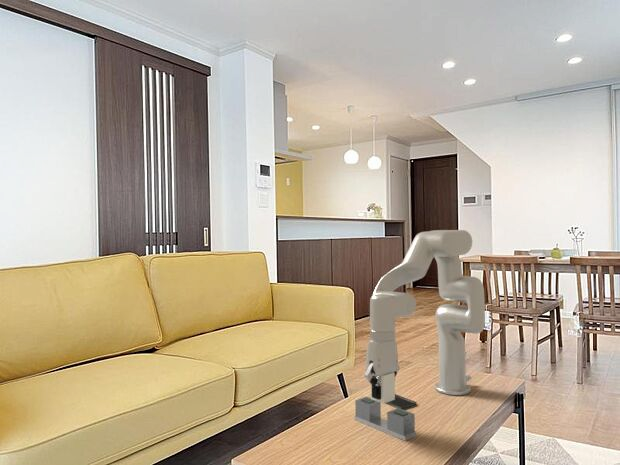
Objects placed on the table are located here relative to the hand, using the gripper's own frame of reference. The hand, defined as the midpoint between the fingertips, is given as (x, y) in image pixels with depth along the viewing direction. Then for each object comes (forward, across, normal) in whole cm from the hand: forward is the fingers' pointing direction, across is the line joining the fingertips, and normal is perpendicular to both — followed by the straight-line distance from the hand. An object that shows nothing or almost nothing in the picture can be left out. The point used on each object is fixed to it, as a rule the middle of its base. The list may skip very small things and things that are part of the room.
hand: (382, 395), depth 140 cm
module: (+1, 0, 0) cm, 1 cm away
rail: (+10, -1, 0) cm, 10 cm away
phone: (+10, -20, -12) cm, 25 cm away
